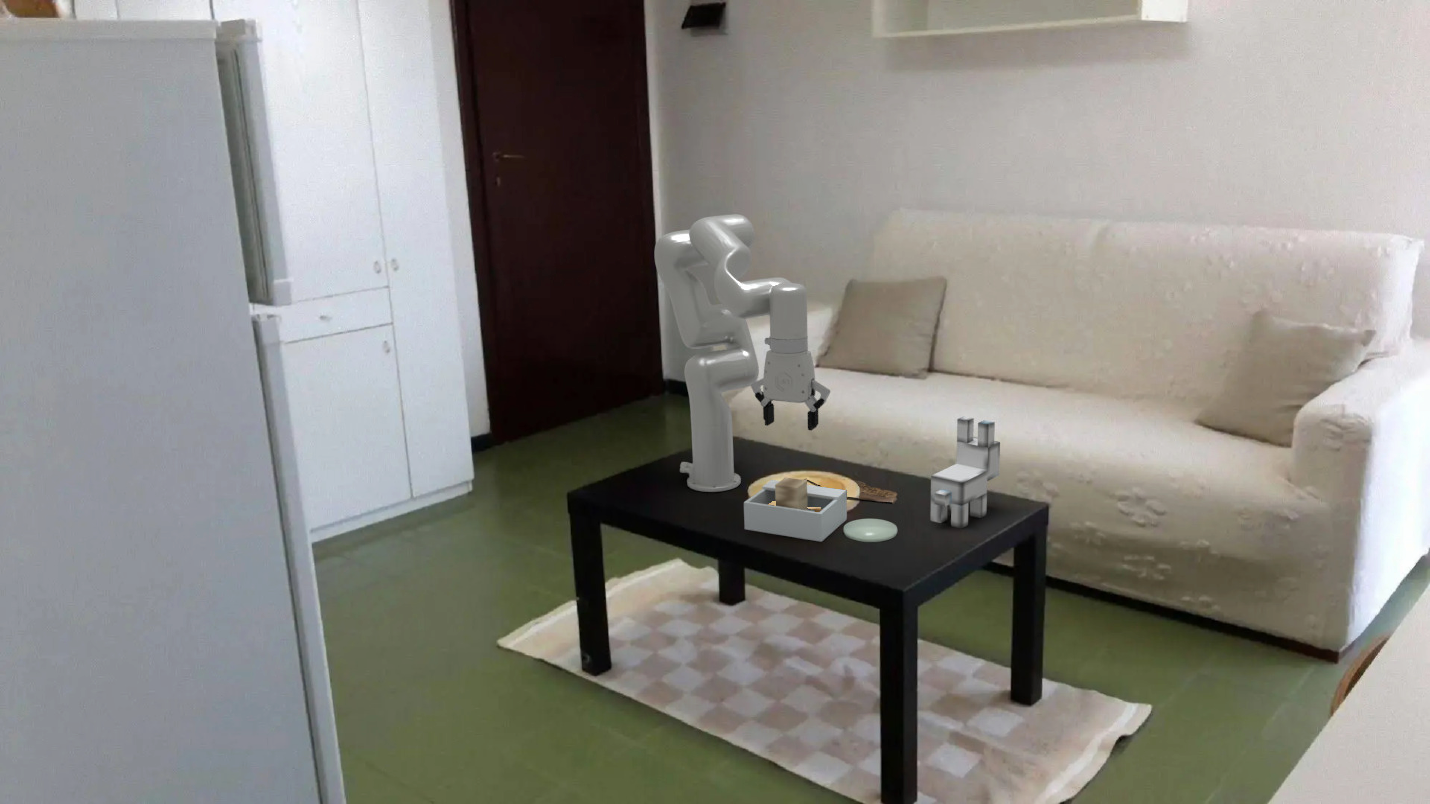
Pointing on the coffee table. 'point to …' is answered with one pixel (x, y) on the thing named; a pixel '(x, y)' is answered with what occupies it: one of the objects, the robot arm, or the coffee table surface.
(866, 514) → the coffee table surface
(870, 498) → the wooden fragment
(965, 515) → the toy llama
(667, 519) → the coffee table surface
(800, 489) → the maple block
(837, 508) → the box
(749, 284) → the robot arm
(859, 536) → the sage saucer
